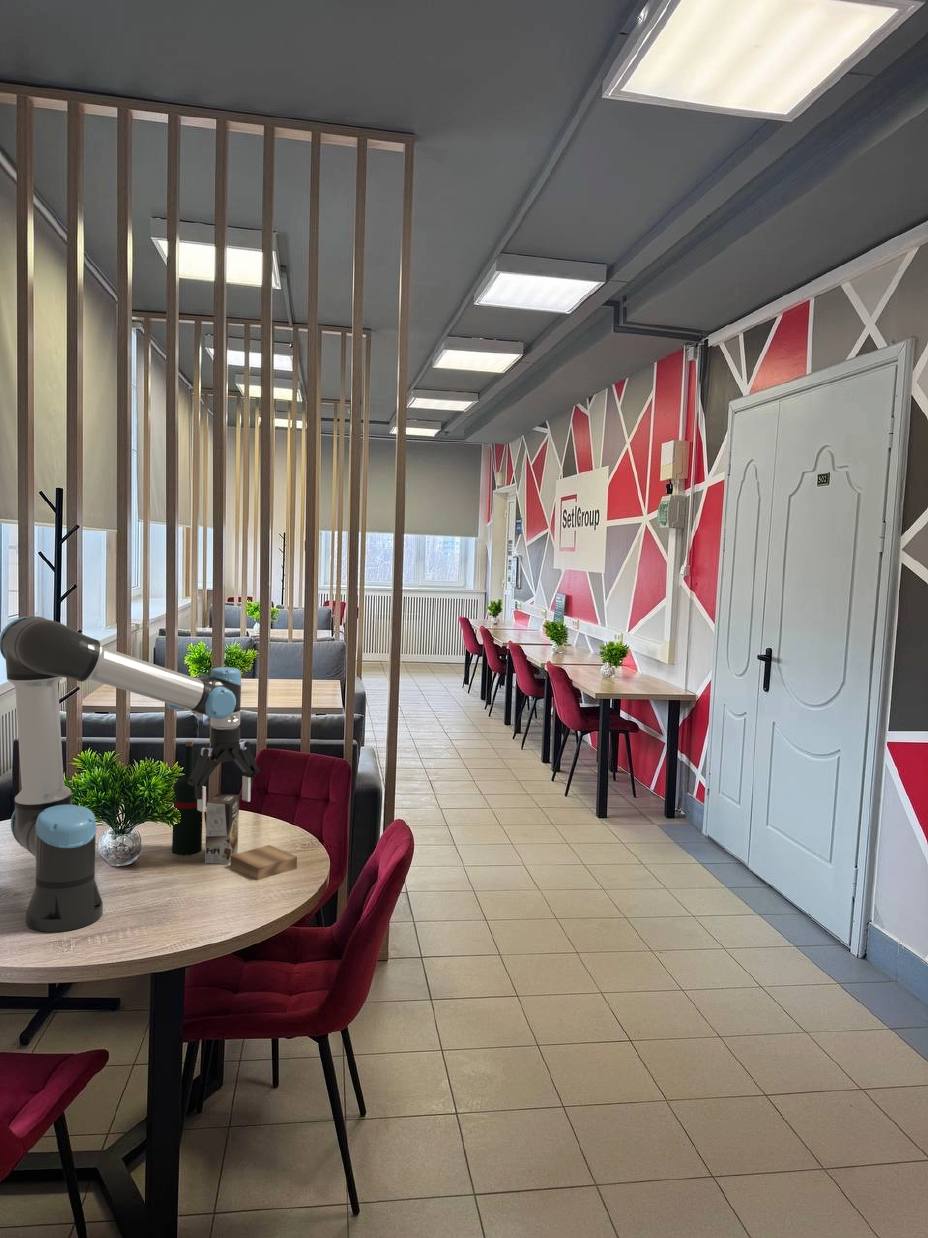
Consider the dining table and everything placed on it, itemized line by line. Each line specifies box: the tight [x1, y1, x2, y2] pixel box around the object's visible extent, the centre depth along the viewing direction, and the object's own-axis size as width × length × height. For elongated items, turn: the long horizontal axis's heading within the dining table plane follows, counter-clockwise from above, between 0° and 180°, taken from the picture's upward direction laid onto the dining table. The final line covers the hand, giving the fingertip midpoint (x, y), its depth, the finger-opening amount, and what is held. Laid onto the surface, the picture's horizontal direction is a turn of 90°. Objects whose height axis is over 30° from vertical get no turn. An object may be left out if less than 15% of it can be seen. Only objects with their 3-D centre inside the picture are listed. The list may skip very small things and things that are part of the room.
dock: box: [229, 844, 298, 881], centre depth 217 cm, size 12×12×3 cm
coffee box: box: [204, 793, 240, 865], centre depth 222 cm, size 9×6×16 cm
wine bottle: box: [171, 740, 209, 857], centre depth 226 cm, size 8×10×30 cm
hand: (224, 805), depth 222 cm, fingers open, 13 cm apart
